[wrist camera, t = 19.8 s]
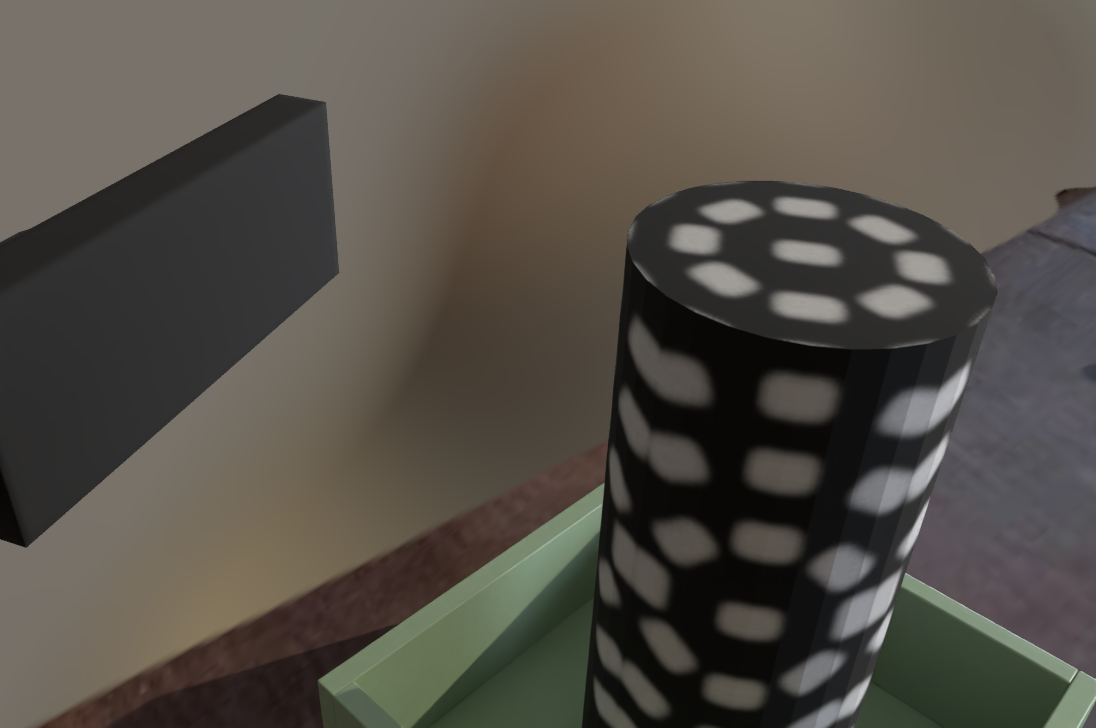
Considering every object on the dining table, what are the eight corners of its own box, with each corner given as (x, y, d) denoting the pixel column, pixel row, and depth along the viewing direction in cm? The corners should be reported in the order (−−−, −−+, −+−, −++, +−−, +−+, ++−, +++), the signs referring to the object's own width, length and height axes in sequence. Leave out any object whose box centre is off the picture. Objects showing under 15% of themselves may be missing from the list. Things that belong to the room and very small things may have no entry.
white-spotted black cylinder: (820, 703, 37) (967, 202, 26) (828, 928, 30) (1031, 376, 19) (597, 662, 38) (648, 165, 27) (555, 869, 31) (601, 317, 20)
